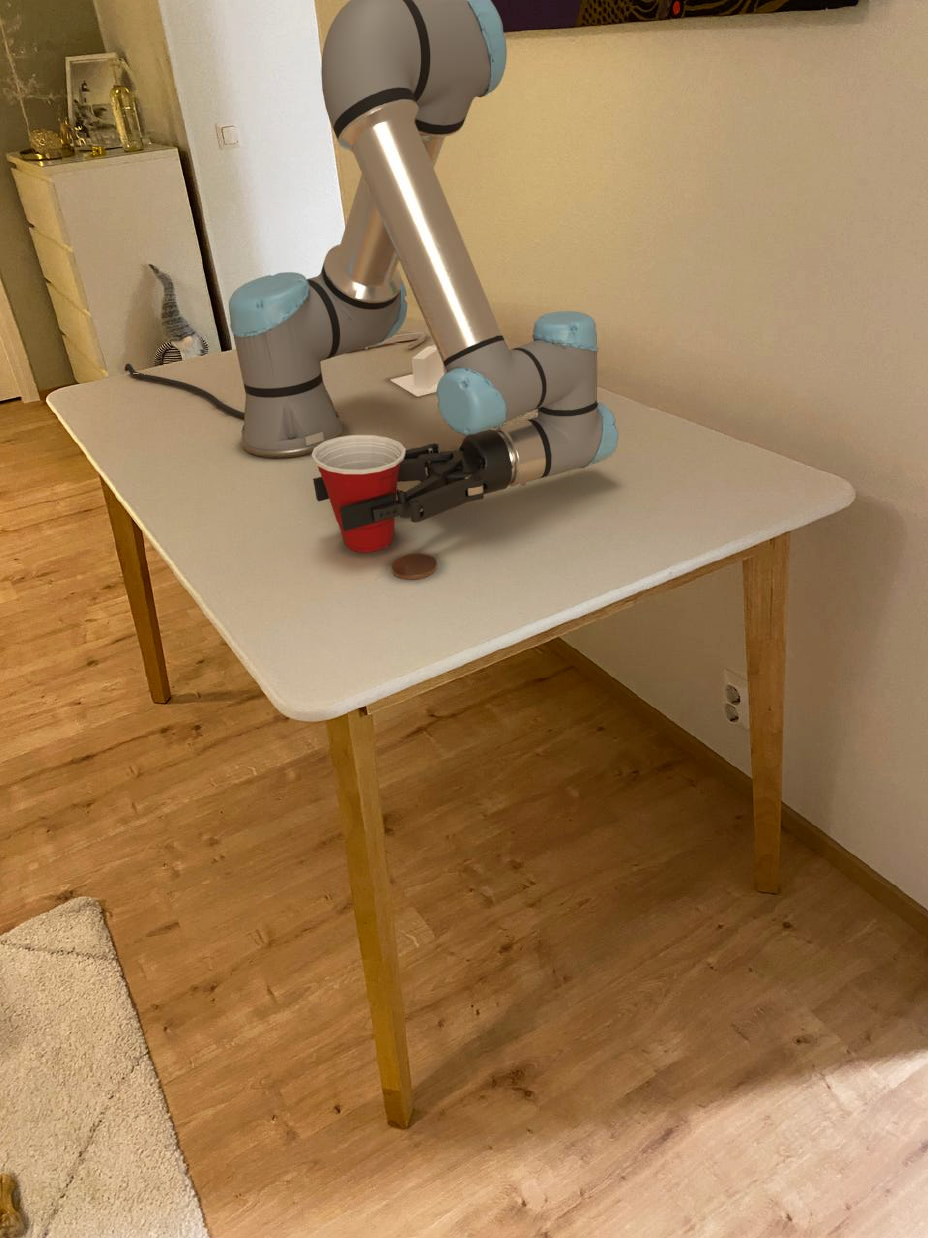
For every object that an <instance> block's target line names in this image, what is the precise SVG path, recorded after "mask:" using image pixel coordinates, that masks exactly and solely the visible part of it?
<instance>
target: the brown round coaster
mask: <svg viewBox="0 0 928 1238" xmlns="http://www.w3.org/2000/svg"><path fill="white" fill-rule="evenodd" d="M437 568H438V562H437V560H436V558H435V557H433V556H431V555H429V554H425V553H410V554H406V555H403V556H400V557H398V558H397V559H395V560H394V562H392V564H391V573H392V574H393V575H394V576H395V577H397V578H399V579H403V580H418V579H423V578H426V577H429V576H430V575H433V573H435V572H436V570H437Z"/></svg>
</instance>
